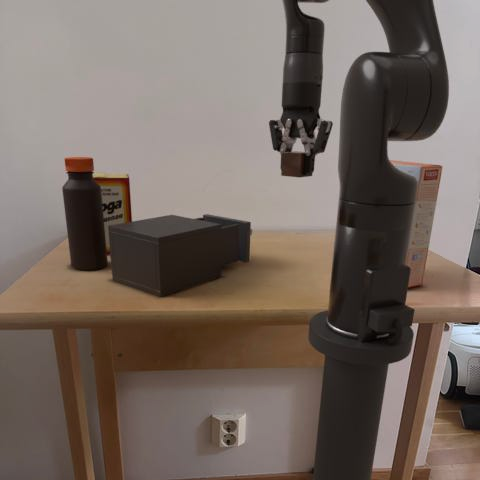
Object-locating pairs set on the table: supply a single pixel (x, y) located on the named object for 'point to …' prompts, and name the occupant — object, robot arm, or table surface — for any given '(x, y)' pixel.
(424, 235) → the cracker box
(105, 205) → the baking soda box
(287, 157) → the block
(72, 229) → the bottle
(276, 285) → the table surface
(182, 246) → the cabinet
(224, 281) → the table surface
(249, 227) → the drawer
